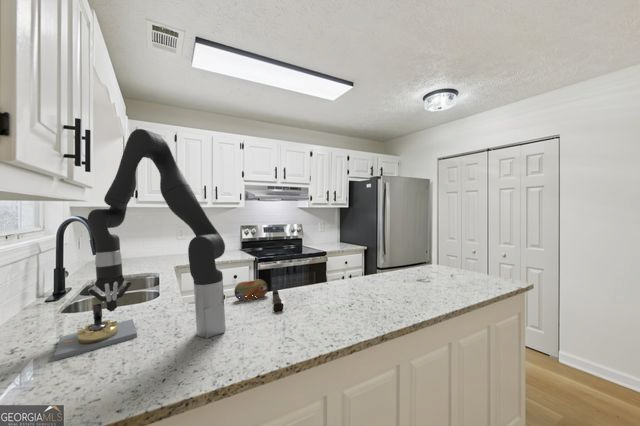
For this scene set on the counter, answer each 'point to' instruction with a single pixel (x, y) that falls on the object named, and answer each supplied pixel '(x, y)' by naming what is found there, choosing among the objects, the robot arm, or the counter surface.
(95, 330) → the lever with gold dial
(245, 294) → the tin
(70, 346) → the base plate
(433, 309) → the counter surface
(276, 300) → the hand tool
